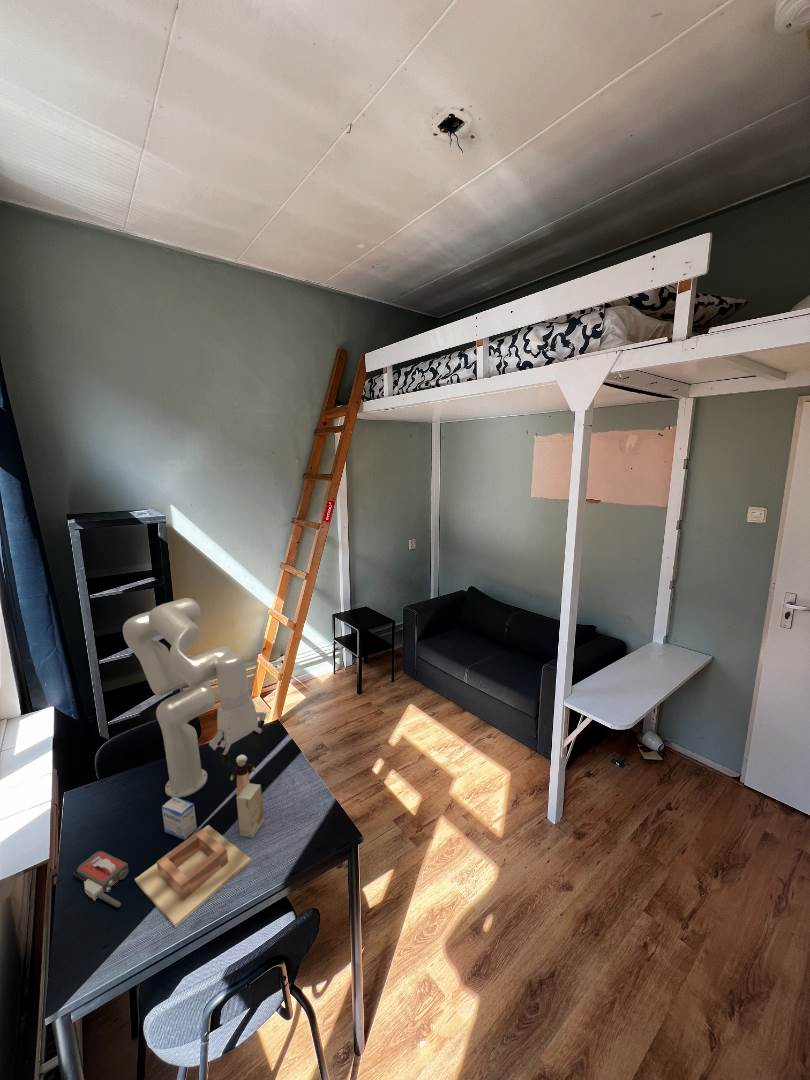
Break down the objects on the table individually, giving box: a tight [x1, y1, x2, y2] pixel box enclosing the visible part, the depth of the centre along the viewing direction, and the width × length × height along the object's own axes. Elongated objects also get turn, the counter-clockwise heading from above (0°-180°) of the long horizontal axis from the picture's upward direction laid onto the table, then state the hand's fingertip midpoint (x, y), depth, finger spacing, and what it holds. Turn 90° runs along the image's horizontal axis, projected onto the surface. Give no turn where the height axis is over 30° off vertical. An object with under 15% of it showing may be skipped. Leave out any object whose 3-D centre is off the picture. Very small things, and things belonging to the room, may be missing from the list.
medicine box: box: [161, 797, 198, 841], centre depth 125 cm, size 8×4×9 cm, turn 68°
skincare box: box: [236, 782, 265, 839], centre depth 125 cm, size 6×4×12 cm
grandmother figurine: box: [229, 754, 256, 796], centre depth 140 cm, size 8×4×13 cm, turn 131°
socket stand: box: [134, 824, 252, 929], centre depth 112 cm, size 20×20×5 cm
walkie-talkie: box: [72, 850, 129, 908], centre depth 110 cm, size 9×4×20 cm
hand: (242, 754), depth 122 cm, fingers open, 9 cm apart
